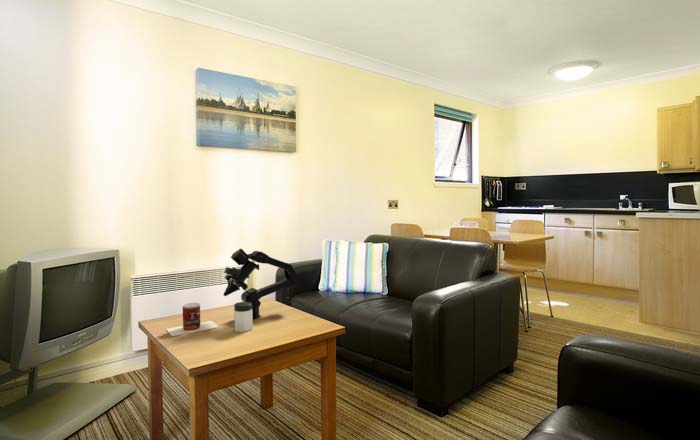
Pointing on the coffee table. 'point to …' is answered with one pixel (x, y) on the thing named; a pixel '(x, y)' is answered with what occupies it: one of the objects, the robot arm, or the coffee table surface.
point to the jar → (243, 316)
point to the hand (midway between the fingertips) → (224, 295)
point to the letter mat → (203, 326)
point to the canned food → (191, 316)
